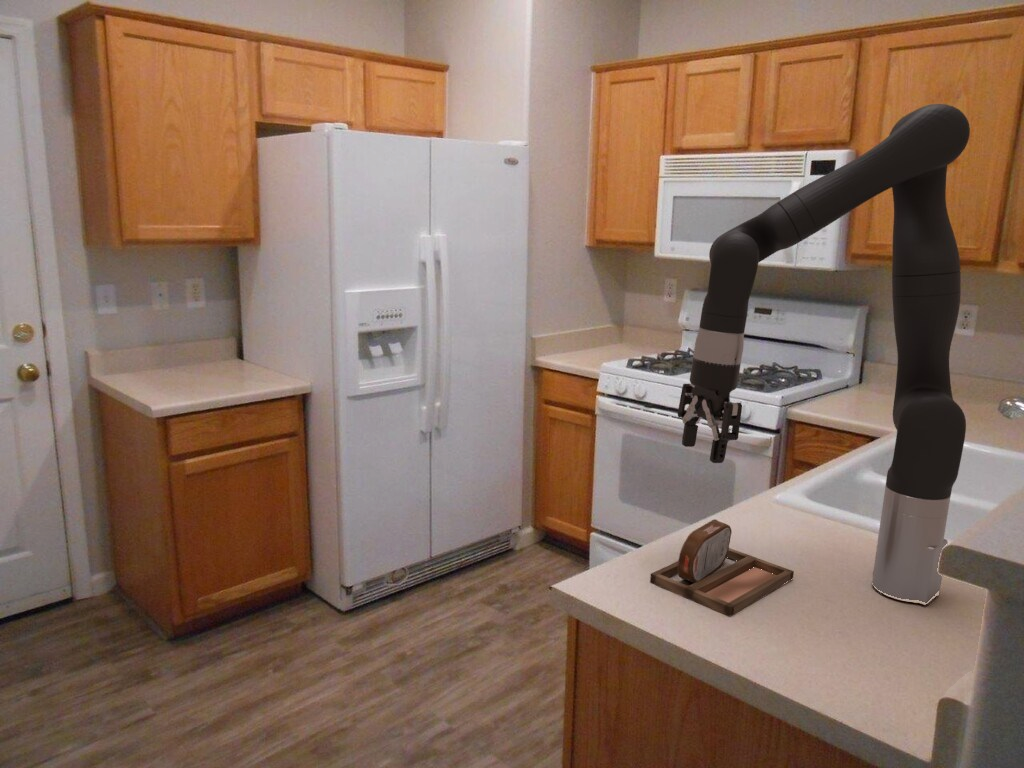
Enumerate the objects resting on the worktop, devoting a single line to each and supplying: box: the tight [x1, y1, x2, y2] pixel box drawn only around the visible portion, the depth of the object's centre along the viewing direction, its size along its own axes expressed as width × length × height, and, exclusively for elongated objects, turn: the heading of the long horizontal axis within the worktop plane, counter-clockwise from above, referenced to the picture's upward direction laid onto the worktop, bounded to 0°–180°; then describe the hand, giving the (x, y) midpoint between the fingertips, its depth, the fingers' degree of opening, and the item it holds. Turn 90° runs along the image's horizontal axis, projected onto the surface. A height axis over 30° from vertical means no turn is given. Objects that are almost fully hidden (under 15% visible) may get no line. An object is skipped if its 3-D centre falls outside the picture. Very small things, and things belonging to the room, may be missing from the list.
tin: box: [677, 518, 733, 584], centre depth 131 cm, size 15×3×8 cm, turn 141°
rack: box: [649, 547, 795, 617], centre depth 129 cm, size 15×20×2 cm
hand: (701, 453), depth 130 cm, fingers open, 8 cm apart
